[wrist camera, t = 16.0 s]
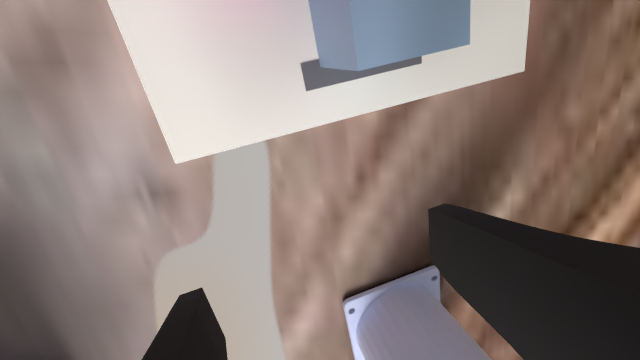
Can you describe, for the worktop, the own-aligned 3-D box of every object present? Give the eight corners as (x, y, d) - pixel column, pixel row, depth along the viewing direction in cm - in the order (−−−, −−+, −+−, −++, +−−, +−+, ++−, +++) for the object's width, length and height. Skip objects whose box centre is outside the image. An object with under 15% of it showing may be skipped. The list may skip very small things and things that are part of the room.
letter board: (521, 70, 20) (525, 71, 20) (176, 162, 16) (175, 164, 16) (540, -155, 16) (544, -158, 15) (64, -108, 11) (60, -111, 11)
